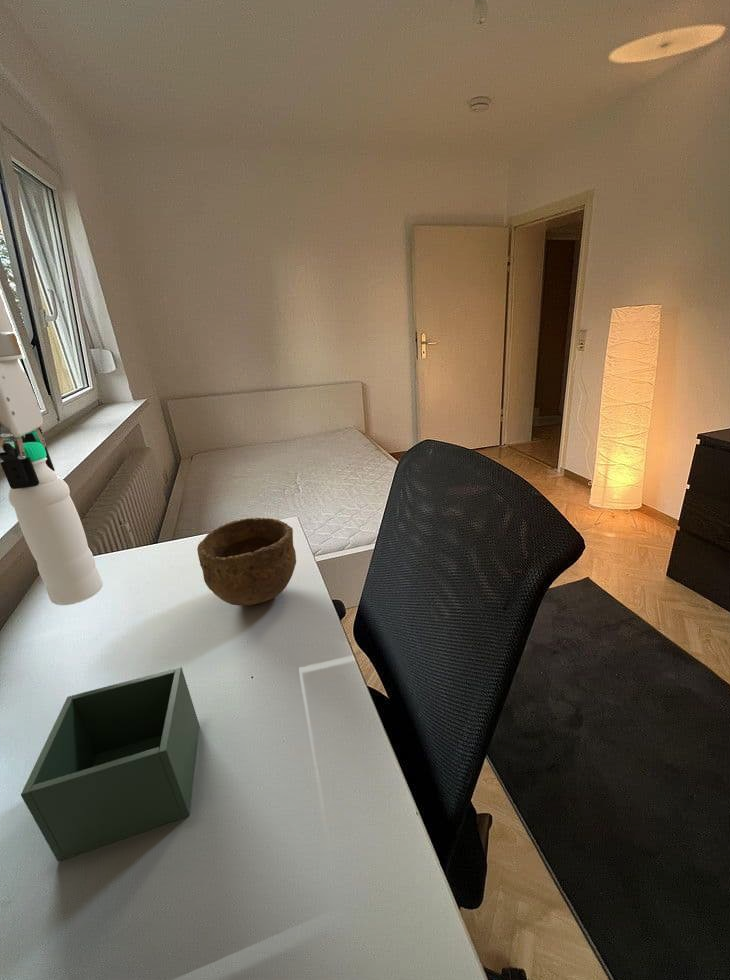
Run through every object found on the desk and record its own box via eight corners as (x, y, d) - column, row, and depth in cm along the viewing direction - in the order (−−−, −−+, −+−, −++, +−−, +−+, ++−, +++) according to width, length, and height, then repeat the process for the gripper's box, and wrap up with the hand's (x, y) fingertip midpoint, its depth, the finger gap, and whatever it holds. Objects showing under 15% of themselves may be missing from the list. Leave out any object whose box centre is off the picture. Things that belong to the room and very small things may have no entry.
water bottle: (59, 588, 73) (1, 442, 64) (108, 578, 76) (58, 436, 67) (45, 612, 67) (-22, 454, 58) (98, 600, 70) (42, 446, 60)
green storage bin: (57, 862, 49) (20, 795, 45) (94, 756, 61) (67, 696, 57) (189, 815, 53) (166, 750, 49) (199, 725, 65) (181, 666, 61)
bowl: (304, 612, 89) (293, 547, 83) (205, 633, 85) (186, 565, 79) (300, 566, 106) (291, 510, 100) (217, 581, 102) (203, 523, 96)
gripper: (-19, 349, 64) (27, 468, 71) (-96, 355, 49) (-28, 505, 56) (43, 345, 66) (81, 461, 73) (-13, 350, 51) (43, 495, 58)
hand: (34, 479), depth 64 cm, fingers closed on water bottle, 5 cm apart
